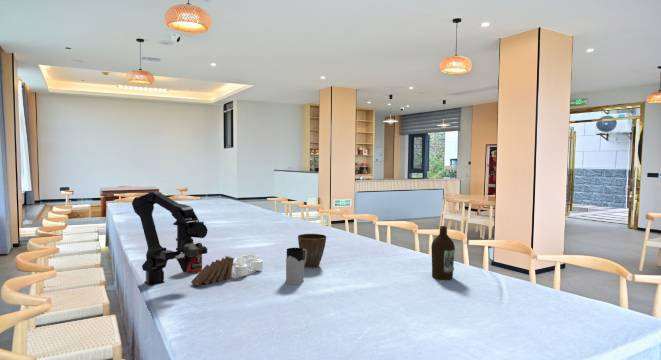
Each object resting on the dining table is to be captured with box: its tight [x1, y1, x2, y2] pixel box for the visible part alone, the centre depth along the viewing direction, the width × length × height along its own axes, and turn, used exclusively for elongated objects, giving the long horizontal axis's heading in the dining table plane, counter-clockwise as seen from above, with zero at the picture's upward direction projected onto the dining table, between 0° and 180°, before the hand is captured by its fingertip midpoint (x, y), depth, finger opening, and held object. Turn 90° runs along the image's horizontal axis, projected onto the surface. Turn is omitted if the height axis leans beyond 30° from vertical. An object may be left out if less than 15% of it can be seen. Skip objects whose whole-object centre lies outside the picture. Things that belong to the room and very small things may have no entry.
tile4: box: [216, 257, 230, 283], centre depth 186 cm, size 2×5×10 cm, turn 41°
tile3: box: [209, 259, 225, 284], centre depth 184 cm, size 2×5×10 cm
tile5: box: [222, 255, 235, 281], centre depth 188 cm, size 2×5×10 cm, turn 41°
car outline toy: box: [230, 253, 264, 279], centre depth 197 cm, size 20×11×7 cm, turn 150°
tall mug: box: [284, 247, 307, 285], centre depth 186 cm, size 9×14×15 cm, turn 152°
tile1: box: [190, 264, 214, 288], centre depth 179 cm, size 2×5×10 cm
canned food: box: [185, 252, 203, 274], centre depth 201 cm, size 8×8×11 cm
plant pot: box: [297, 233, 327, 269], centre depth 212 cm, size 15×15×16 cm
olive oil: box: [430, 225, 456, 281], centre depth 191 cm, size 11×11×25 cm
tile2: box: [202, 261, 220, 285], centre depth 182 cm, size 2×5×10 cm
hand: (184, 272), depth 173 cm, fingers closed
